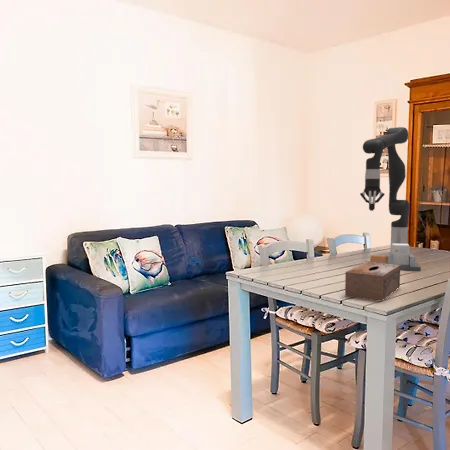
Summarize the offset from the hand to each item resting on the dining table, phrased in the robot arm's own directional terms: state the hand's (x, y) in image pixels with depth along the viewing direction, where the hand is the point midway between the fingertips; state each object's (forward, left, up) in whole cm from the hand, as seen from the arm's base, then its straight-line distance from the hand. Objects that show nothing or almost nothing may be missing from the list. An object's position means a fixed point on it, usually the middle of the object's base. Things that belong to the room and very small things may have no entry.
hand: (371, 210), depth 243 cm
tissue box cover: (+62, -3, -30) cm, 68 cm away
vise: (+8, +10, -29) cm, 32 cm away
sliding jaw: (+8, +5, -27) cm, 28 cm away
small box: (+8, +14, -27) cm, 32 cm away
